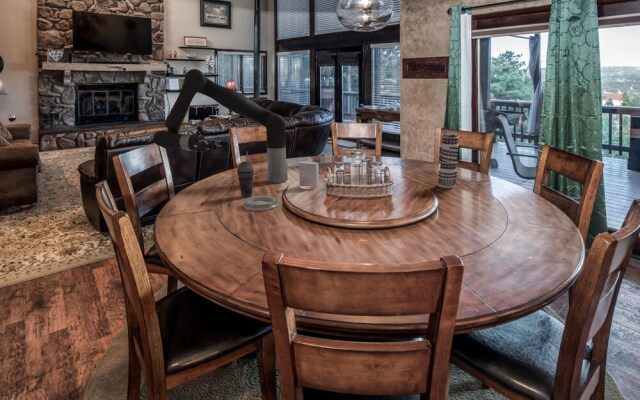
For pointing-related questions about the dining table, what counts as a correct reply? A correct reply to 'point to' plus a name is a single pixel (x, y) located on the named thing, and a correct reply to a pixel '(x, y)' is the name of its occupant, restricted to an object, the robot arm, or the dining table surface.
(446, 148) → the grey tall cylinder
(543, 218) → the dining table surface
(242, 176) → the beverage cup
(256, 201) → the rimmed coaster
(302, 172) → the grey upright block
